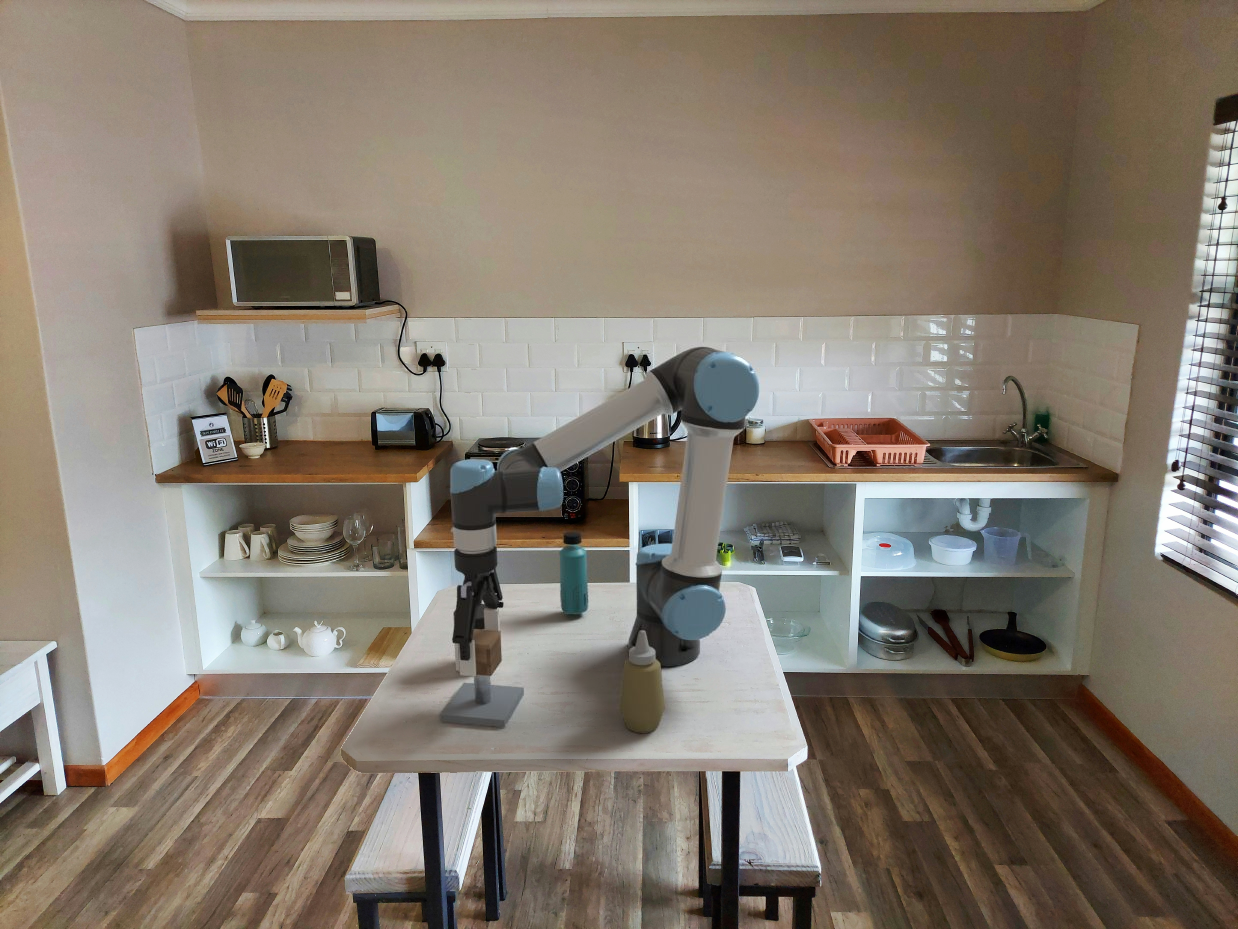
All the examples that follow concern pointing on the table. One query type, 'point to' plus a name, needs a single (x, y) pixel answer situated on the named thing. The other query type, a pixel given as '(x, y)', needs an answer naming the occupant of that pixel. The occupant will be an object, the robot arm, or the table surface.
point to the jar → (478, 625)
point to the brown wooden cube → (486, 651)
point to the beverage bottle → (573, 575)
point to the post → (482, 689)
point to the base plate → (482, 706)
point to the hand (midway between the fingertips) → (481, 657)
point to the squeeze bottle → (642, 688)
